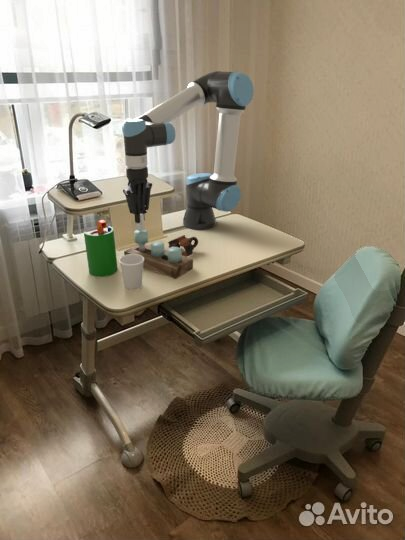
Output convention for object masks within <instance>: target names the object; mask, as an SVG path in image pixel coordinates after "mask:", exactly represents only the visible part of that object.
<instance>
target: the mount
mask: <svg viewBox="0 0 405 540" xmlns="http://www.w3.org/2000/svg"><path fill="white" fill-rule="evenodd" d="M164 251H165V255H164V256H162V257H161V258H158V257H153V256H151V244H148V243H145V252H140V251H139V246H138V244H137V245H135V246H132V247H130V248H128V249H126V250H124V251H123V256H124V255H128V254H138V255H141V256H143V257H144V263H143V269H147V270H150V271H153V272H156V273H158V274H161V275H164V276H167V277H169V278H172V279H175V280H177V279H178V278H180V277H182V276H183V275H185V274H187V273H188V272H190V271H193V268H194V259H193V258H192V257H189V256H187V257H185V256H182V260H181V261H180V262H178V264H176V263H171V262H169V261H168V253H167V250H166V249H164Z"/></svg>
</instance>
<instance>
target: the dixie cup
mask: <svg viewBox="0 0 405 540" xmlns="http://www.w3.org/2000/svg"><path fill="white" fill-rule="evenodd" d="M118 262H119V264H120V271H121V274H122V278H123V283H124V287H125V289H127V290H131V291H133V290H138V289H141V288H142V285H143V274H144V273H143V272H144V267H143V263H144V257H143V256H141V255H138V254H128V255H124V254H123V255H122V256H121V257H119V259H118Z"/></svg>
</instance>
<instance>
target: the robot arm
mask: <svg viewBox="0 0 405 540" xmlns="http://www.w3.org/2000/svg"><path fill="white" fill-rule="evenodd" d="M254 89H255V88H254V85H253V81H252V80H251V77H250V76H249V75H248V74H246V73H243V72H238V71H220V70H218V71H217V70H215V71H211V72H208V73H206V74H204V75H202V76H200V77H199V78H197V79H195V80H193V81H191V82H190V83H189V84H188V85H187V88H185V89H183V90H181V91H180V92H178V93H176V94H175V95H174V96H171V97H170V98H168V99H167V100H165V101H163V102H162V103H159V104H158V105H157V106H155V107H153V108H152V109H149V110H148V111H147V112H144V113H143V114H141V115H140V116H138V117H136V118H135V117H133V118H126V119H125V120H124V122H123V123H122V126H121V129H122V135H123V146H124V157H125V166H126V168H125V170H126V172H125V174H126V178H127V180H128V182H127V187H126V188H123V190H122V192H123V194H124V195H125V199H126V202H127V206H128V209H129V213H130V214H133V215H134V222H135V226H136V228H135V229H136V230H138V231H144V230H146V229H145V220H146V218H145V217H146V216H145V214H147V213H148V211H149V209H150V199H151V198H150V197H151V190H152V187H153V183H152V182H148V178H149V167H148V148H153V147H159V146H160V147H161V146H168V145H171V144H172V143H174V142H175V140H176V129H175V127H174V125H173V124H172V123H171V122H173V121H174V120H176V119H178V118H179V117H181V116H183V115H184V114H186V113H188V112H189V111H191V110H192V109H194V108H195V107H202V106H203V105H204V106H205V105H206V104H209V103H215V104H216V105H215V108H216V110H217V111H218V113H219V114H218V123H217V125H218V126H217V132H216V133H217V134H216V145H215V155H214V166H213V174H212V173H209V172H200V173H193V174H189V175H188V176H187V177H186V184H185V186H186V188H185V191H186V193H185V194H186V209H185V212H184V215H183V219H182V225H183V226H185V227H186V228H188V229H191V230H207V229H211V228H213V227H215V226H216V225H217V219H216V215H215V213H214V209H216V210H218V211H220V212H228V213H229V212H232V210H235V208H236V207H237V206H238V205H239V203H240V201H241V199H242V198H241V197H242V190H241V188H240V187H239V186H238V178H237V177H236V176H235V169H236V160H237V151H238V143H239V141H238V140H239V134H240V126H241V118H242V117H241V116H242V114H243V113H244V112H246V106H248V105H249V104H251V101H252V100H253V98H254Z"/></svg>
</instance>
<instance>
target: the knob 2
mask: <svg viewBox="0 0 405 540" xmlns="http://www.w3.org/2000/svg"><path fill="white" fill-rule="evenodd" d="M150 245H151V256H153V257H158V258H161V257H162V256H164V255H165V251H164V250H165V243H164V242H161V241H155V242H151V243H150Z"/></svg>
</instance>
